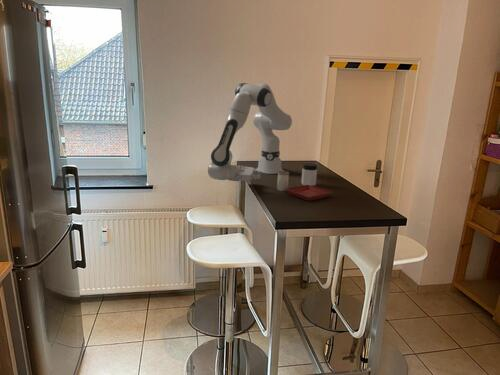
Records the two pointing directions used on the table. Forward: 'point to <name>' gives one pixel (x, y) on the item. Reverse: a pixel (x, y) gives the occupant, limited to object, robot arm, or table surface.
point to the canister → (282, 180)
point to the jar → (309, 174)
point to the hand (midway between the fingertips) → (261, 175)
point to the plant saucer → (308, 192)
